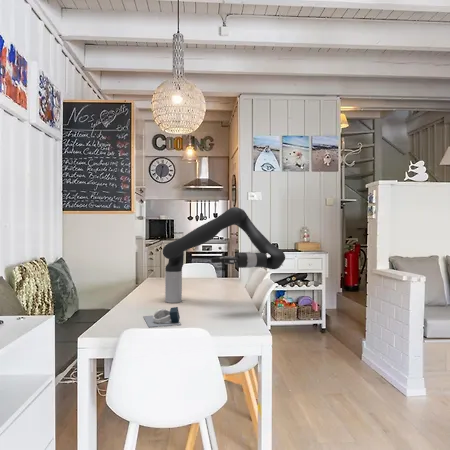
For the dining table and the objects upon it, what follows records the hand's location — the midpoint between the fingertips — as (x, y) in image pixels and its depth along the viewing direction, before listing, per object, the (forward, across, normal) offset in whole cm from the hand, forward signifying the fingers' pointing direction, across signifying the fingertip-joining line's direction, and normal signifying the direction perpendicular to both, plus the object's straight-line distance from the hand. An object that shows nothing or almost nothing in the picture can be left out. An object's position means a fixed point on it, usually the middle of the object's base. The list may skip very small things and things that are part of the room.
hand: (211, 260), depth 196 cm
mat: (+24, +2, +27) cm, 36 cm away
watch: (+17, +8, +23) cm, 30 cm away
